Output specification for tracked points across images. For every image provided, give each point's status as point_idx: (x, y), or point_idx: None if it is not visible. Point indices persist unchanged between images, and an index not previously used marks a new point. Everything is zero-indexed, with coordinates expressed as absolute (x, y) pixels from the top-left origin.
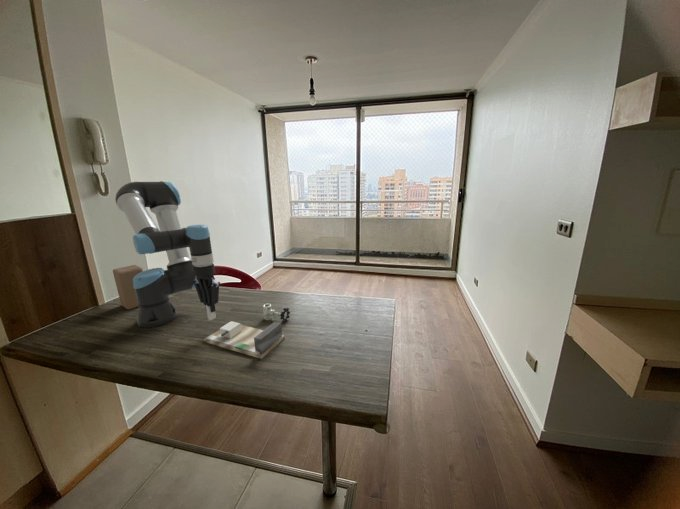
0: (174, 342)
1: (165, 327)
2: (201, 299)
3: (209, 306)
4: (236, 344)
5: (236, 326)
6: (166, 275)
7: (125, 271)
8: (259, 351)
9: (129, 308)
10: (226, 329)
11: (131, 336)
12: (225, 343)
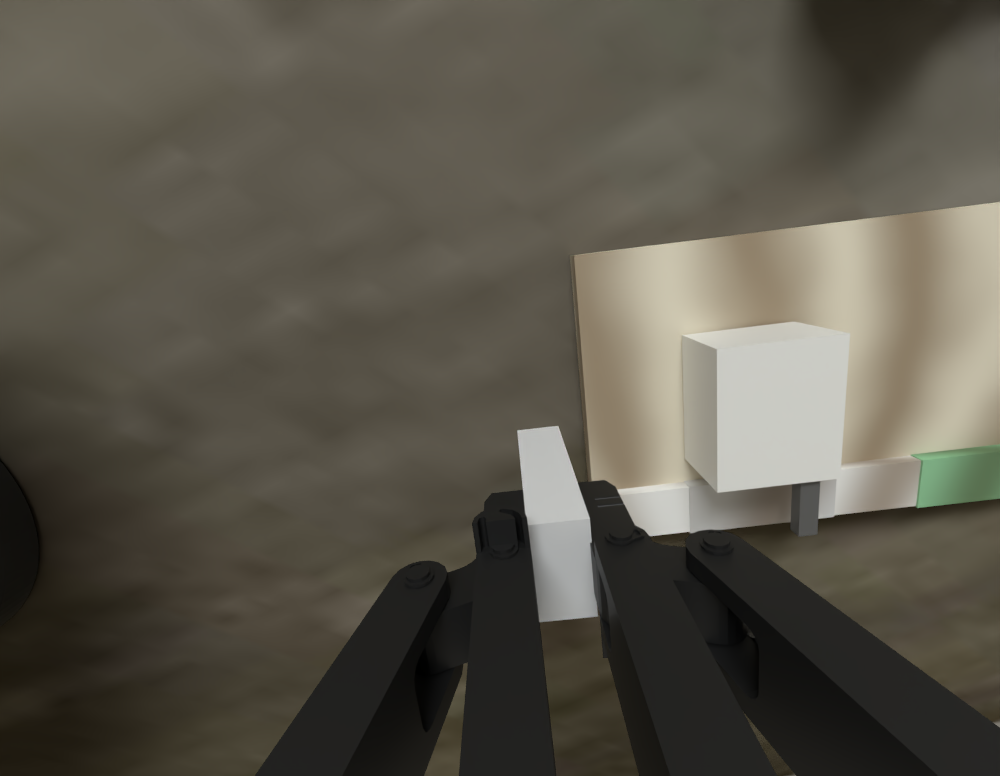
0: None
1: (110, 557)
2: (443, 704)
3: (593, 586)
4: (910, 484)
5: (842, 388)
6: None
7: None
8: None
9: None
10: (795, 475)
11: (62, 718)
12: (820, 517)
